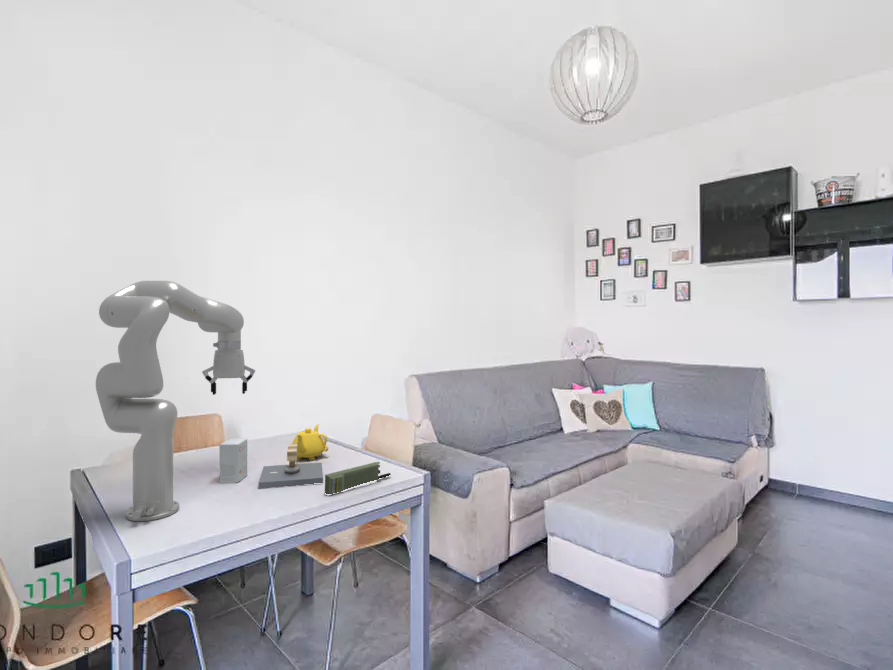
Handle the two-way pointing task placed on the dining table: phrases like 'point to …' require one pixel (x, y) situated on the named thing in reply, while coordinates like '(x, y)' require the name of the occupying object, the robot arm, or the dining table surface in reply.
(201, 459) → the dining table surface
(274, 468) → the plate
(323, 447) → the teapot
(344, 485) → the handheld radio
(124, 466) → the dining table surface
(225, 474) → the small box
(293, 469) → the t key
